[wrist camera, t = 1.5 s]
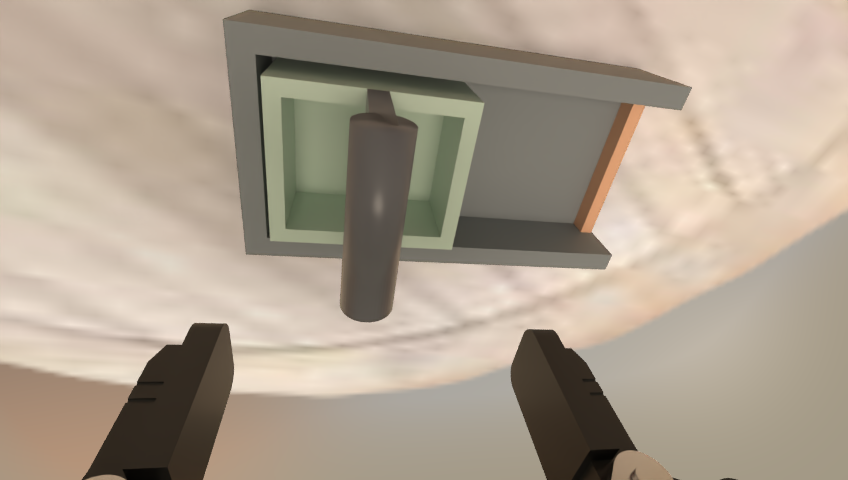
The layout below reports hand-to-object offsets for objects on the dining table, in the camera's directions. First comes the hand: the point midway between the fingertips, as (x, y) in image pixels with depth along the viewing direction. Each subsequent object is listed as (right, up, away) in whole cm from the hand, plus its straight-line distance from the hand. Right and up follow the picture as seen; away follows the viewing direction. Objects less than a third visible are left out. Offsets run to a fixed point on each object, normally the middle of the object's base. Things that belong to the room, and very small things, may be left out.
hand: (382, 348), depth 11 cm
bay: (+2, +9, +15) cm, 18 cm away
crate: (-2, +9, +13) cm, 16 cm away
